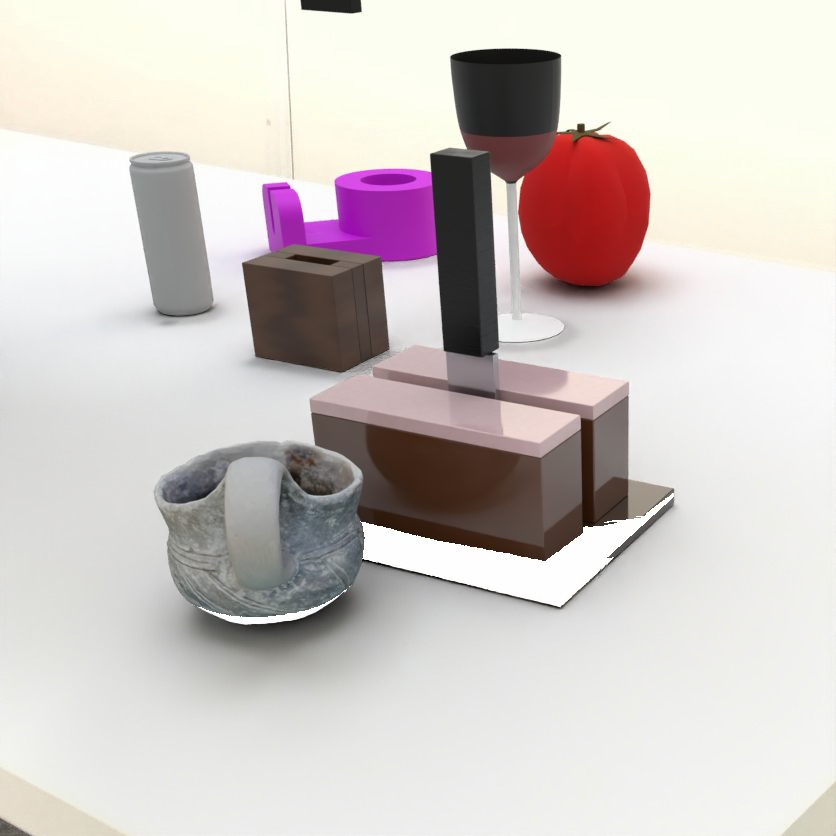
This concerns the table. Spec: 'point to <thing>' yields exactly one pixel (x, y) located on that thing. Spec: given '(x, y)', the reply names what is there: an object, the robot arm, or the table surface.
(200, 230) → the beverage can
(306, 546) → the mug
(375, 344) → the knife block
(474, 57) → the wineglass
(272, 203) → the tape dispenser
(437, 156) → the knife
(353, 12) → the robot arm
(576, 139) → the tomato
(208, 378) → the table surface
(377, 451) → the cake
